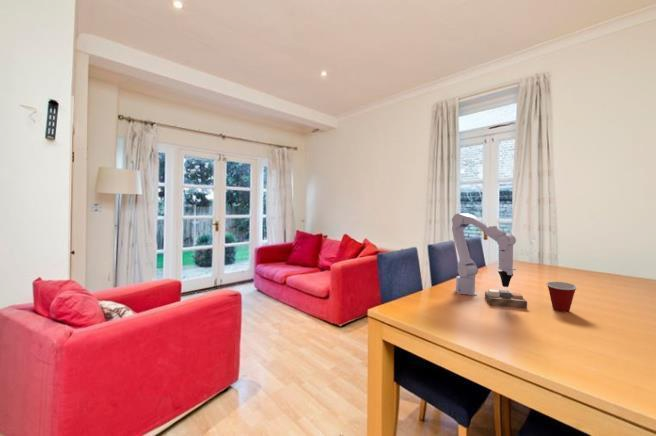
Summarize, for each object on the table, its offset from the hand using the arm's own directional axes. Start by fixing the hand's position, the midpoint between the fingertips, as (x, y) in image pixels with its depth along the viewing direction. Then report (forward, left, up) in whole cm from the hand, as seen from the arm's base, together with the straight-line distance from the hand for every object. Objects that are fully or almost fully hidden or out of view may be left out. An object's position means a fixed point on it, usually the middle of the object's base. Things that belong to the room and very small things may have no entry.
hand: (505, 286), depth 134 cm
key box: (0, 0, -8) cm, 8 cm away
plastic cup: (+21, -3, -9) cm, 23 cm away
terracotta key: (+5, 0, -7) cm, 8 cm away
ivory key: (-5, 0, -6) cm, 8 cm away
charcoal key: (0, 0, -6) cm, 6 cm away
